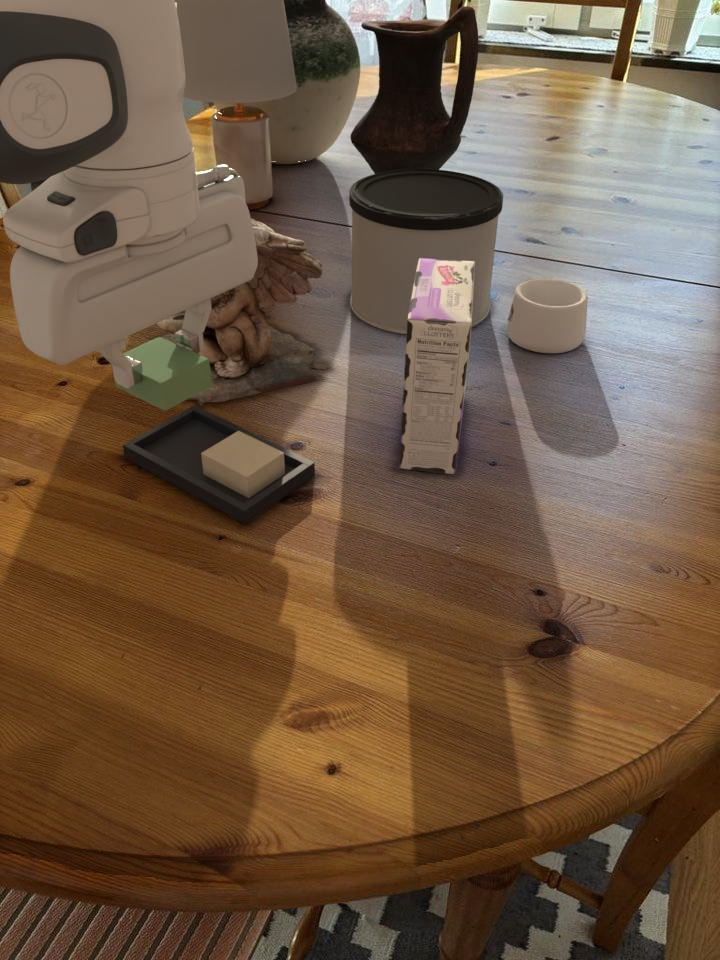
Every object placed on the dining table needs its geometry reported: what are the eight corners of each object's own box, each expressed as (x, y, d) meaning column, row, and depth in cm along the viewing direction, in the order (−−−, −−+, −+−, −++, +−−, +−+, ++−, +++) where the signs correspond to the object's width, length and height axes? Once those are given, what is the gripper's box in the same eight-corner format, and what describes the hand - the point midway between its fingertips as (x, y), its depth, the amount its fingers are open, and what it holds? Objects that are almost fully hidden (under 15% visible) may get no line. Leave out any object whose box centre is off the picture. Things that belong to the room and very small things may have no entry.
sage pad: (165, 411, 66) (160, 383, 65) (115, 386, 69) (110, 359, 68) (212, 385, 69) (209, 358, 68) (162, 362, 72) (158, 336, 71)
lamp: (219, 179, 156) (201, -39, 135) (316, 191, 151) (312, -33, 130) (166, 212, 141) (137, -26, 121) (272, 228, 136) (259, -18, 116)
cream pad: (248, 498, 79) (247, 477, 78) (203, 474, 82) (200, 453, 81) (285, 474, 82) (284, 452, 81) (240, 451, 85) (238, 430, 84)
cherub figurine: (145, 339, 105) (123, 193, 95) (284, 314, 111) (278, 174, 101) (183, 410, 92) (163, 250, 82) (337, 377, 98) (337, 224, 88)
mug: (585, 359, 103) (594, 313, 99) (504, 352, 104) (509, 306, 100) (581, 315, 112) (589, 272, 109) (506, 309, 113) (512, 266, 110)
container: (385, 266, 125) (388, 160, 116) (509, 291, 118) (523, 181, 109) (323, 317, 111) (322, 201, 102) (461, 349, 104) (472, 228, 95)
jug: (327, 199, 147) (326, 1, 130) (387, 173, 160) (393, -12, 142) (433, 226, 138) (447, 15, 120) (487, 195, 150) (508, 1, 132)
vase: (365, 139, 177) (368, -29, 160) (351, 183, 155) (352, -8, 137) (230, 134, 179) (218, -32, 162) (196, 176, 157) (177, -12, 139)
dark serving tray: (245, 525, 77) (244, 511, 76) (124, 457, 85) (122, 444, 84) (315, 475, 83) (314, 462, 82) (195, 417, 91) (194, 404, 90)
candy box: (410, 397, 95) (418, 255, 85) (463, 402, 94) (477, 259, 85) (397, 470, 84) (404, 316, 74) (457, 475, 83) (473, 321, 74)
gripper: (211, 151, 68) (227, 311, 76) (-22, 223, 55) (28, 406, 64) (269, 166, 65) (279, 332, 73) (37, 246, 52) (80, 436, 60)
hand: (161, 367), depth 68 cm, fingers closed on sage pad, 5 cm apart
